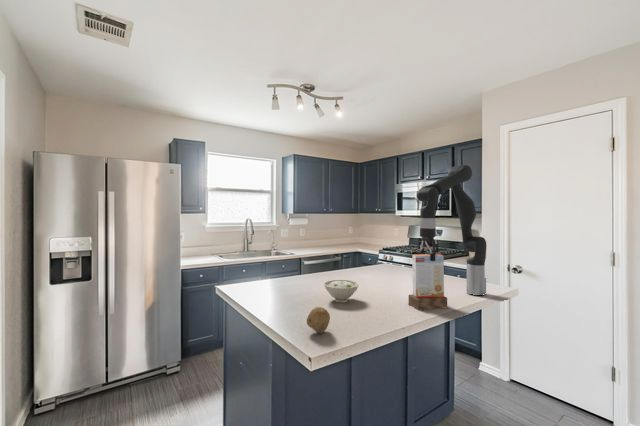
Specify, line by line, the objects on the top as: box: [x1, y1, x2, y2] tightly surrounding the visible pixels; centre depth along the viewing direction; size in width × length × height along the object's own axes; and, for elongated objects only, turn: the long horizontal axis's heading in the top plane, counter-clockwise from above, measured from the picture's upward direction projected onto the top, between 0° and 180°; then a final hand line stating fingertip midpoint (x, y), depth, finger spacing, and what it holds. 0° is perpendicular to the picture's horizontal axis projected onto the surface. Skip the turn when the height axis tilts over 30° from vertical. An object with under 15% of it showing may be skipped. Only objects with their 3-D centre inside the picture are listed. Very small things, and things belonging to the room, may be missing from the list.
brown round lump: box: [306, 306, 331, 334], centre depth 116 cm, size 9×9×10 cm
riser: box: [408, 294, 448, 311], centre depth 149 cm, size 16×9×5 cm, turn 104°
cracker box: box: [411, 253, 445, 298], centre depth 149 cm, size 14×6×21 cm, turn 90°
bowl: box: [322, 279, 360, 303], centre depth 159 cm, size 19×19×10 cm
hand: (427, 259), depth 149 cm, fingers open, 8 cm apart
